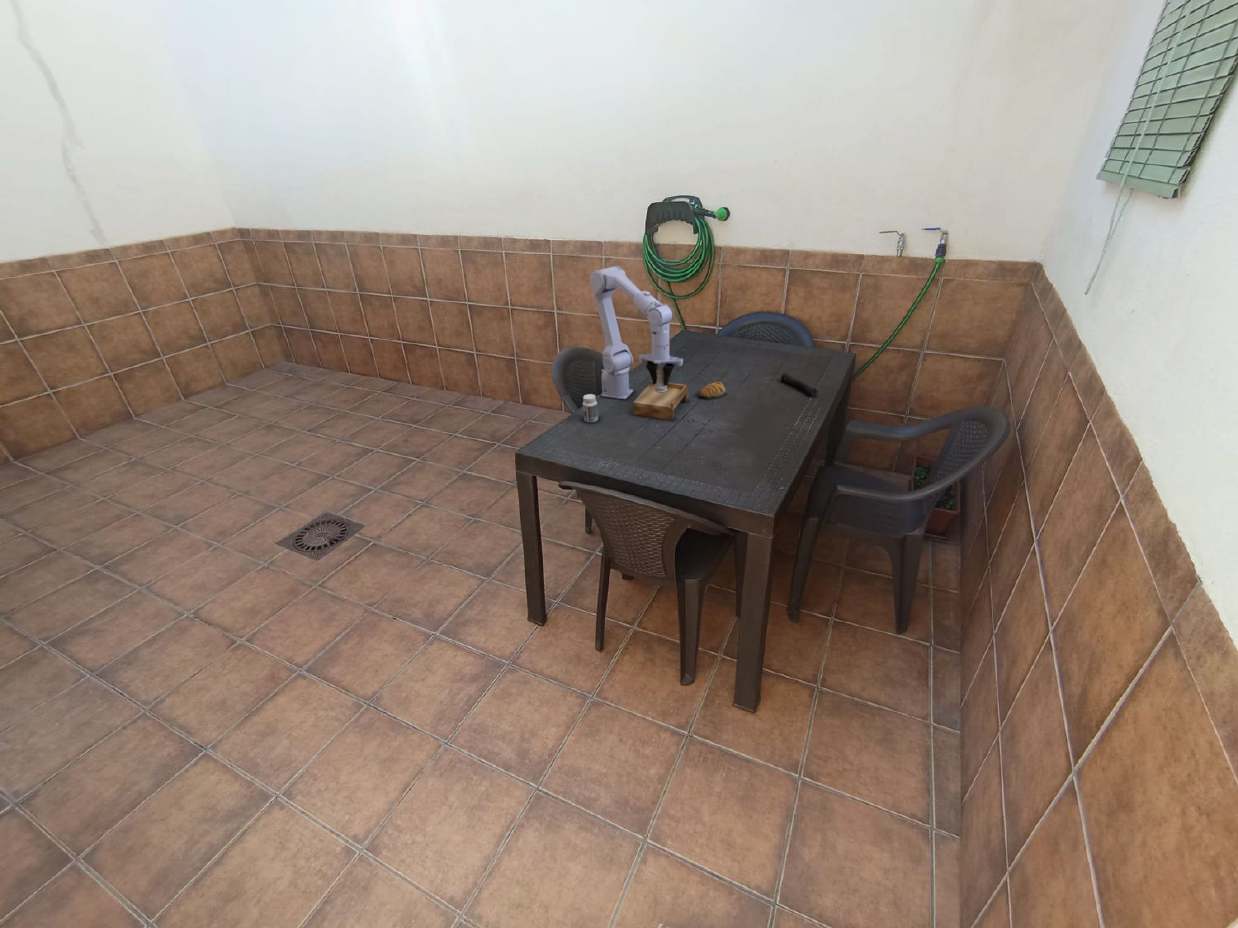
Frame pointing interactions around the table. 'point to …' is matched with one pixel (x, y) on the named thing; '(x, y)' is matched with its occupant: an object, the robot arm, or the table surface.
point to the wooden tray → (660, 401)
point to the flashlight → (798, 384)
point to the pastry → (712, 390)
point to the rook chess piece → (660, 381)
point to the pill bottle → (590, 408)
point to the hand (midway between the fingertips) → (660, 383)
